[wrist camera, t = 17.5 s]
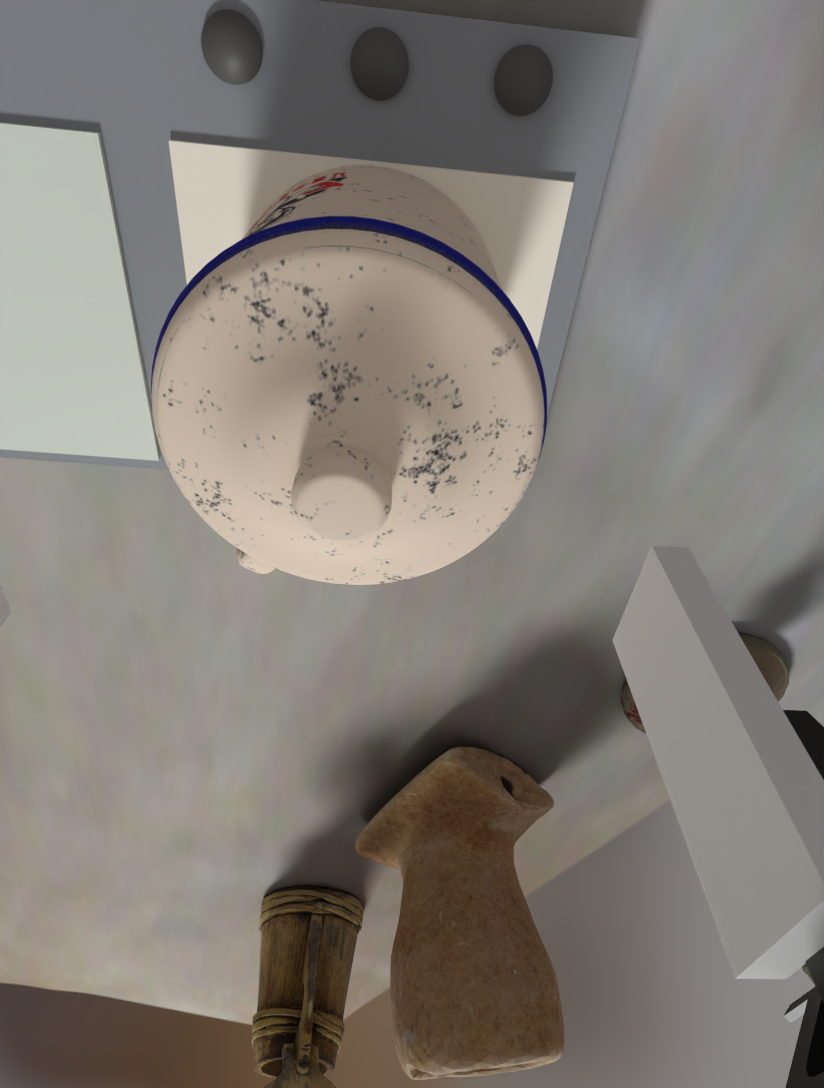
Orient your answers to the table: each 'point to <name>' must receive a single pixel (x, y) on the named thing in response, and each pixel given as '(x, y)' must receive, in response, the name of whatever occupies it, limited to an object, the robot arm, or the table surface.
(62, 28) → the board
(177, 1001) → the table surface
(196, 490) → the teacup with lid
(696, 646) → the robot arm
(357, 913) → the wooden mug
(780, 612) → the table surface
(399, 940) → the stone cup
